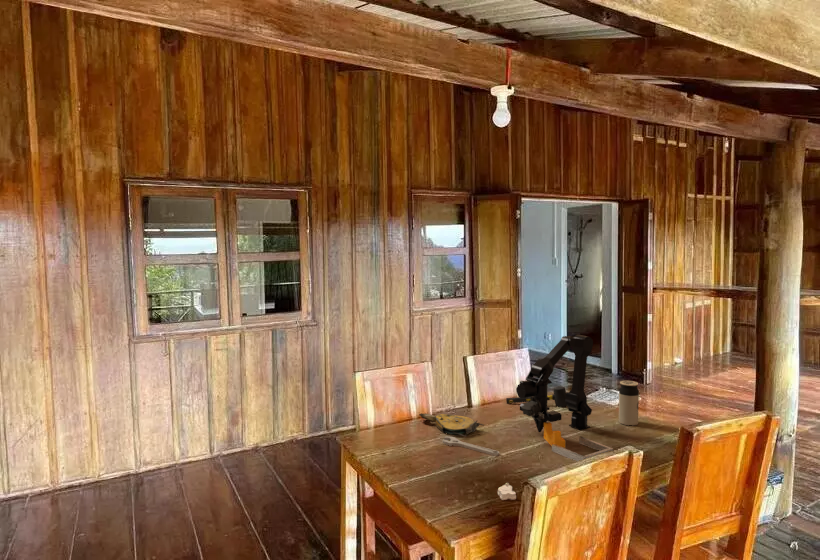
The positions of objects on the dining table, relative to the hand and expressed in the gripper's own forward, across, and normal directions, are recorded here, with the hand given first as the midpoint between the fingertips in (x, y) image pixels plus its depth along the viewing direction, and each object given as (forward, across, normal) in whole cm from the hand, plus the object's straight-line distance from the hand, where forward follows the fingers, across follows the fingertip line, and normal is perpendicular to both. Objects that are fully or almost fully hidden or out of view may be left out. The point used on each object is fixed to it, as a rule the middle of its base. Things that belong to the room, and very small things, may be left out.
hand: (539, 431), depth 223 cm
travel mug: (+2, +9, +44) cm, 45 cm away
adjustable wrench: (+2, -5, -33) cm, 33 cm away
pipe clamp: (+2, +9, -1) cm, 9 cm away
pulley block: (+2, -28, -26) cm, 39 cm away
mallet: (+2, -32, +29) cm, 44 cm away
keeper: (+1, +22, 0) cm, 22 cm away
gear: (+2, +33, -46) cm, 57 cm away
